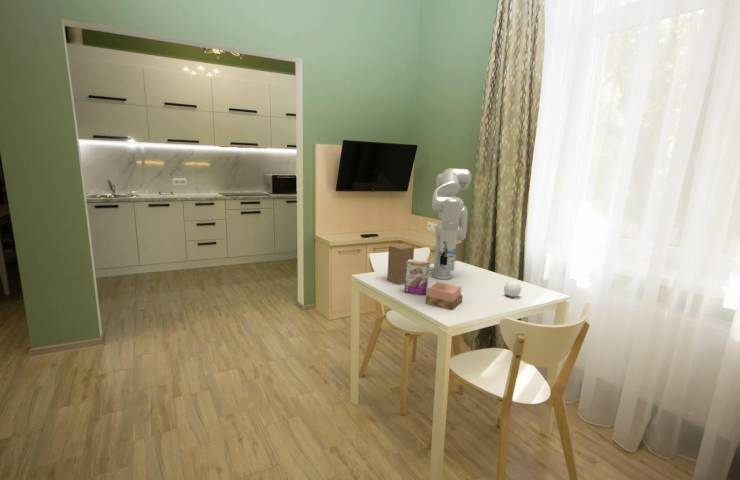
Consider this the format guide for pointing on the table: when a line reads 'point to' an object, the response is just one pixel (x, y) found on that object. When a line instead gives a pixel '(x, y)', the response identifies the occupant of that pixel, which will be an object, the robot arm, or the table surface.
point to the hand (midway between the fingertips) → (447, 262)
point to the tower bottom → (444, 302)
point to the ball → (512, 288)
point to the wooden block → (398, 262)
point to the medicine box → (449, 261)
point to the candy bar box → (417, 277)
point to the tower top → (444, 291)
